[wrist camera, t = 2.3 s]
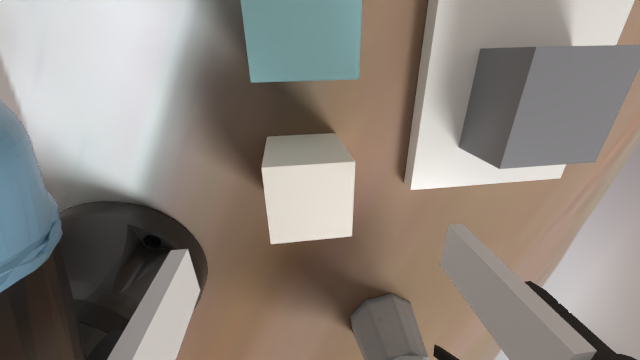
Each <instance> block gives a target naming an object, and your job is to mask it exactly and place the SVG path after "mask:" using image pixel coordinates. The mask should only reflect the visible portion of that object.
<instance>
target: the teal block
mask: <svg viewBox="0 0 640 360" xmlns="http://www.w3.org/2000/svg"><path fill="white" fill-rule="evenodd" d="M241 8H242V16H243V24H244V32H245V40H246V48H247V56H248V64H249V72H250V80H251V83H254V82H286V81H318V80H350V79H359V63H360V39H361V16H362V0H241Z"/></svg>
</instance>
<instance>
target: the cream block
mask: <svg viewBox="0 0 640 360" xmlns="http://www.w3.org/2000/svg"><path fill="white" fill-rule="evenodd" d="M261 169H262V177H263V185H264V193H265V201H266V209H267V217H268V226H269V234H270V242H271V244H278V243H288V242H299V241H309V240H319V239H329V238H340V237H350V236H352V224H353V201H354V178H355V161H354V159H353V158H352V156H351V155H350V153H349V152H348V150H347V149H346V147H345V146H344V145H343V143H342V142H341V140H340V139H339V137H338V136H337V134H336V133H327V134H308V135H289V136H270V137H267V140H266V145H265V151H264V156H263V162H262V167H261Z"/></svg>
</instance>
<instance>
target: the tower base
mask: <svg viewBox="0 0 640 360" xmlns="http://www.w3.org/2000/svg"><path fill="white" fill-rule="evenodd" d="M634 1H635V0H429V1H428V8H427V15H426V23H425V30H424V38H423V45H422V53H421V60H420V68H419V75H418V82H417V90H416V97H415V105H414V112H413V120H412V127H411V134H410V142H409V149H408V157H407V164H406V172H405V179H404V184H405V185H406V186H407V187H408V188H409V189H410V190H417V189H430V188H443V187H455V186H468V185H481V184H493V183H506V182H518V181H531V180H544V179H556V178H561V175H562V173H563V171H564V168H565V166H566V164H576V163H590V162H596V160H597V158H598V155H599V153H600V151H601V149H602V147H603V145H604V143H605V140H606V138H607V136H608V134H609V132H610V130H611V128H612V125H613V123H614V121H615V119H616V117H617V115H618V113H619V111H620V108H621V106H622V104H623V102H624V100H625V98H626V96H627V93H628V91H629V89H630V87H631V85H632V83H633V81H634V79H635V76H636V74H637V72H638V70H639V68H640V45H616V44H617V41H618V39H619V37H620V34H621V32H622V29H623V27H624V25H625V22H626V20H627V17H628V15H629V13H630V10H631V8H632V6H633V3H634Z"/></svg>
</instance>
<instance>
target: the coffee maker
mask: <svg viewBox="0 0 640 360" xmlns="http://www.w3.org/2000/svg"><path fill="white" fill-rule="evenodd" d="M350 319H351V325H352V331H353V334H354V336H355V339H356V341H357V343H358V346H359V348H360V350H361V353H362V355H363V357H364V360H428V355H427V352H426V349H425V346H424V343H423V340H422V337H421V334H420V331H419V328H418V325H417V322H416V319H415V316H414V313H413V309H412V306H411V303H410V302H409V301H407V300H404V299H402V298H400V297H398V296H396V295H394V294H388V295H384V296H380V297H375V298H371V299H367V300H365V301H364V302H363V303H362V304H361V305H360V306H359V307H358V308H357V310H356V311H355V312H354V313H353V314H352V315H351V316H350ZM434 357H436V358H437V359H438V360H459V359H458V358H456V357H455V356H453V355H452V354H450V353H449V352H447V351H446V350H444V349H443V348H441V347H439V346H437V345H435V346H434Z"/></svg>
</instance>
